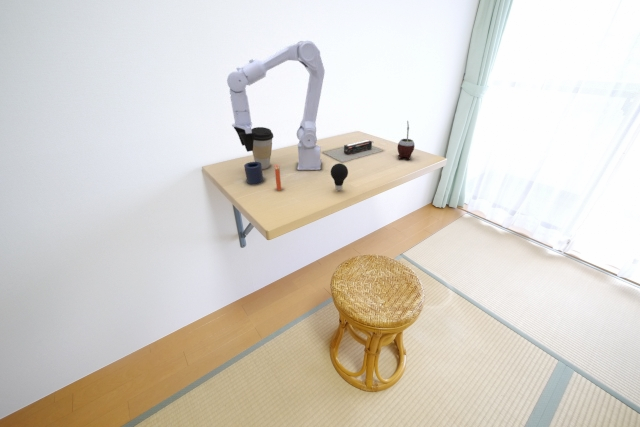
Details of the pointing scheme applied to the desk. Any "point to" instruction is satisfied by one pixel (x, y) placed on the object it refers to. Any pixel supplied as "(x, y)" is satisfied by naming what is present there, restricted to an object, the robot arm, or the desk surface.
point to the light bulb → (339, 175)
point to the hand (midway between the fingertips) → (247, 147)
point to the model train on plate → (353, 151)
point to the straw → (277, 177)
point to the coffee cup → (262, 146)
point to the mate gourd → (405, 147)
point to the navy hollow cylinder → (254, 173)
